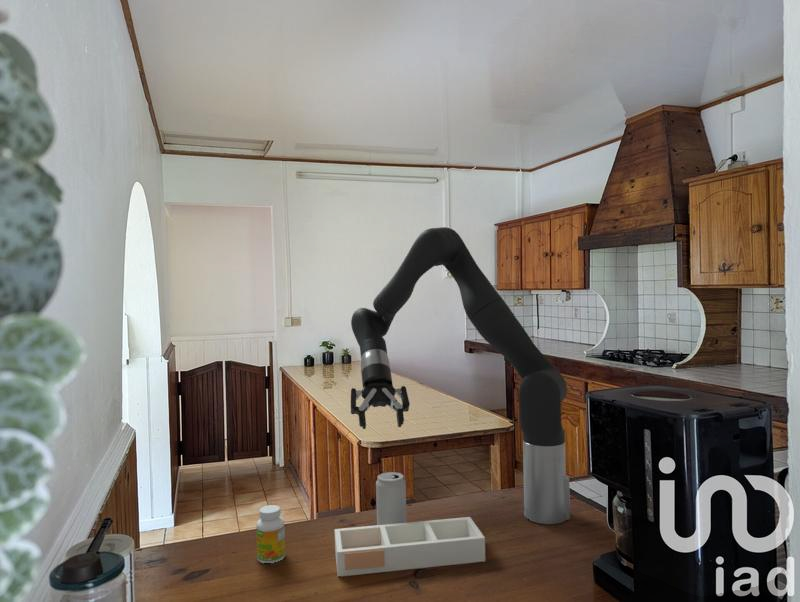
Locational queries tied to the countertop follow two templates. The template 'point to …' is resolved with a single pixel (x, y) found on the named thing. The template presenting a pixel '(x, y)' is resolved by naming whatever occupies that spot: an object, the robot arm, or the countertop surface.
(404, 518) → the beverage can
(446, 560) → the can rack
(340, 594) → the countertop surface
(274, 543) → the supplement bottle
